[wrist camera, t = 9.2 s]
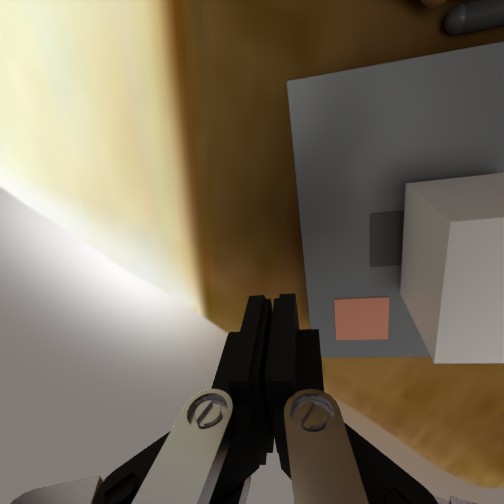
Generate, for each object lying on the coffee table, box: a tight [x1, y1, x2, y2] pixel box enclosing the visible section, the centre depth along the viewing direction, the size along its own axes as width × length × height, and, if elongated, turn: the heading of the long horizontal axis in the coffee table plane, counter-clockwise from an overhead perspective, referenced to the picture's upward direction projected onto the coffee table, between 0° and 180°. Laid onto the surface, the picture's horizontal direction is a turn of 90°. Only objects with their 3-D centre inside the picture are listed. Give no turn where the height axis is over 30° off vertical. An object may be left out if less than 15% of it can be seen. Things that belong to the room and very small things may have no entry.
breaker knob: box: [400, 173, 504, 363], centre depth 13 cm, size 4×6×5 cm, turn 9°
